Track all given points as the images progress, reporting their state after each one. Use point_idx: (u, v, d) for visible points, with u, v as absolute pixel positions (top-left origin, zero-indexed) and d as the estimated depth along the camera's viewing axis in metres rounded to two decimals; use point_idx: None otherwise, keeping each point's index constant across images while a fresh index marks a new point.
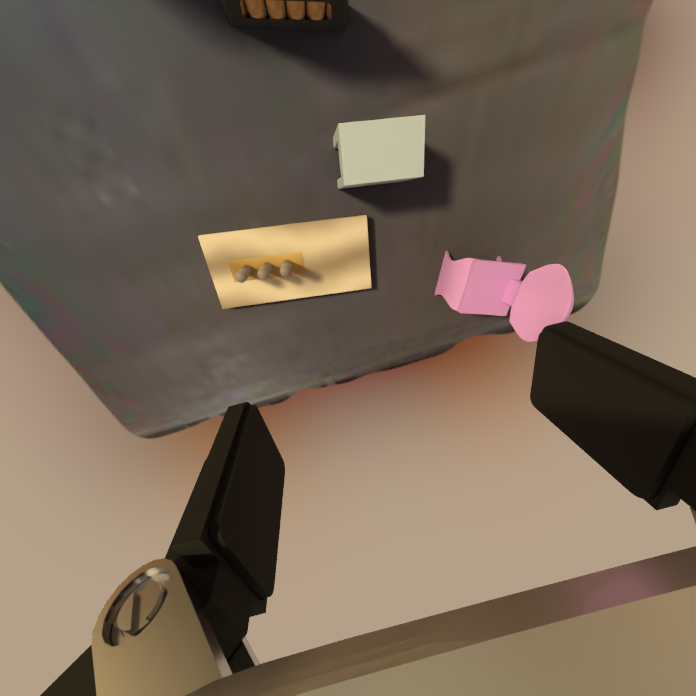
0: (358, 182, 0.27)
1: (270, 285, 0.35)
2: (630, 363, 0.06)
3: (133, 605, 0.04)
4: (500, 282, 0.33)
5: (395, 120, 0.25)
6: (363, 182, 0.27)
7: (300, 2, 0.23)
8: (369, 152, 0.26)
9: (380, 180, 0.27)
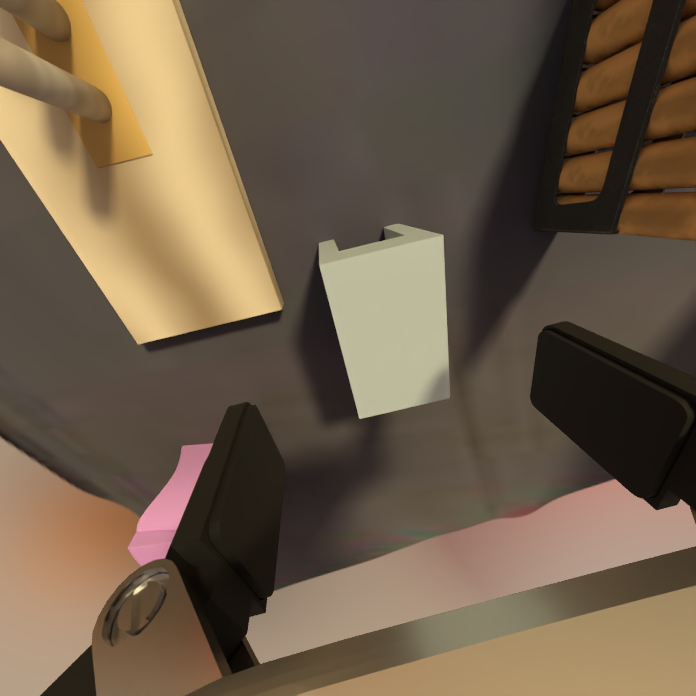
0: (331, 299, 0.11)
1: None
2: (630, 363, 0.06)
3: (133, 605, 0.04)
4: None
5: (444, 353, 0.13)
6: (333, 310, 0.11)
7: (608, 136, 0.12)
8: (390, 314, 0.12)
9: (342, 346, 0.12)
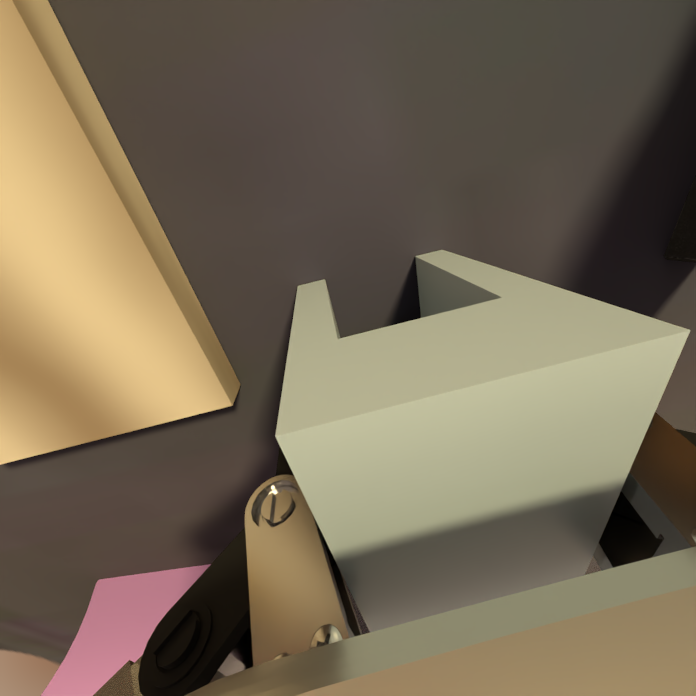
0: (320, 507, 0.04)
1: None
2: None
3: (270, 505, 0.05)
4: None
5: (582, 560, 0.06)
6: (326, 526, 0.04)
7: None
8: (480, 515, 0.04)
9: (350, 579, 0.05)
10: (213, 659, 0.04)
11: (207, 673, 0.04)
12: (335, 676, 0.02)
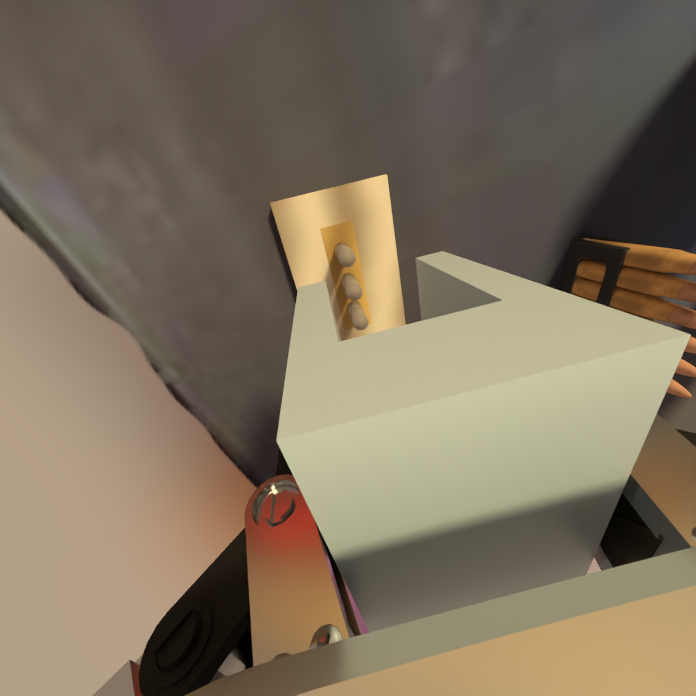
0: (321, 511, 0.04)
1: None
2: None
3: (270, 505, 0.05)
4: None
5: (583, 562, 0.06)
6: (327, 530, 0.04)
7: None
8: (481, 519, 0.04)
9: (351, 582, 0.05)
10: (213, 659, 0.04)
11: (207, 673, 0.04)
12: (335, 676, 0.02)
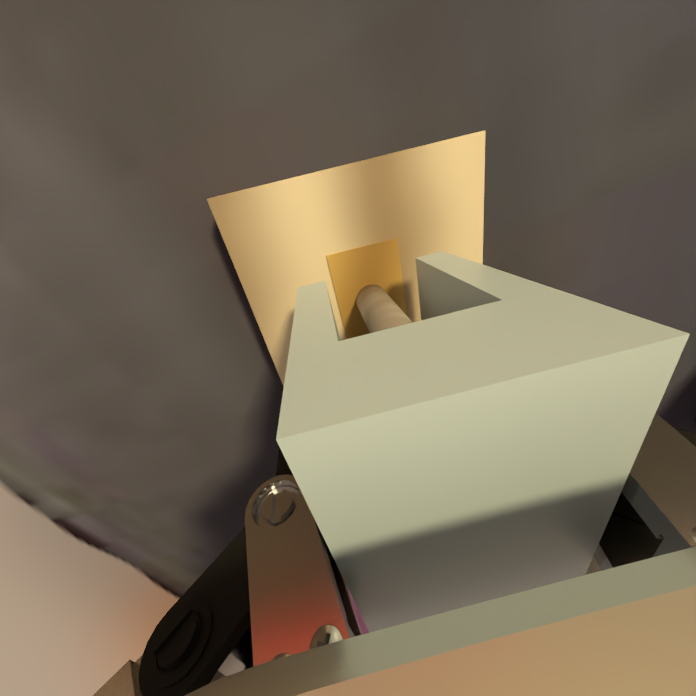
0: (320, 510, 0.04)
1: None
2: None
3: (270, 505, 0.05)
4: None
5: (582, 561, 0.06)
6: (326, 528, 0.04)
7: None
8: (480, 518, 0.04)
9: (351, 581, 0.05)
10: (213, 659, 0.04)
11: (207, 673, 0.04)
12: (335, 676, 0.02)
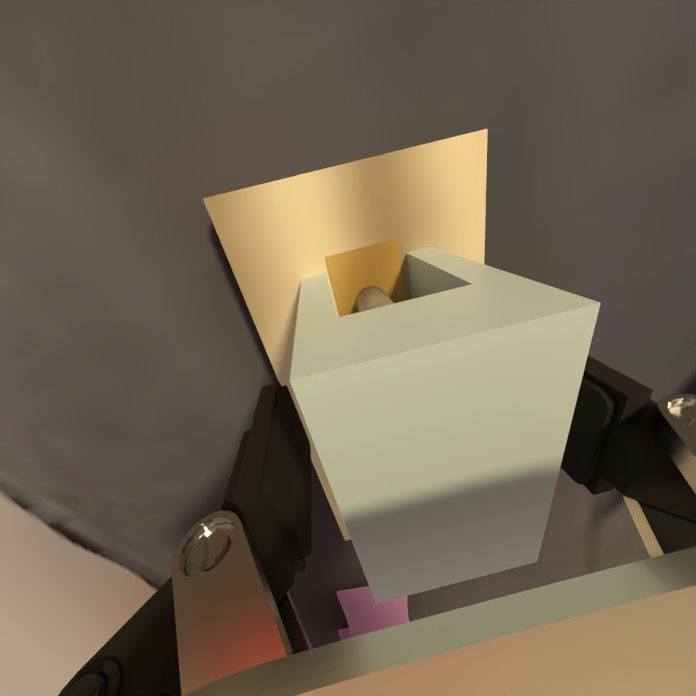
0: (322, 444, 0.05)
1: None
2: None
3: (203, 547, 0.05)
4: None
5: (543, 507, 0.07)
6: (327, 463, 0.05)
7: None
8: (451, 459, 0.05)
9: (346, 516, 0.06)
10: None
11: None
12: (335, 676, 0.02)
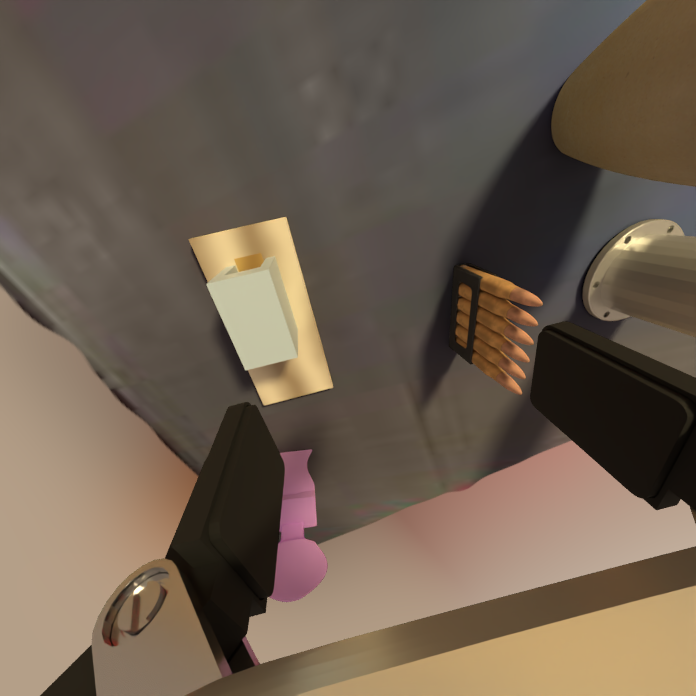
0: (215, 301, 0.21)
1: None
2: (630, 363, 0.06)
3: (133, 605, 0.04)
4: (298, 517, 0.36)
5: (286, 330, 0.23)
6: (217, 307, 0.21)
7: (466, 328, 0.31)
8: (250, 308, 0.22)
9: (226, 326, 0.22)
10: None
11: None
12: (335, 676, 0.02)
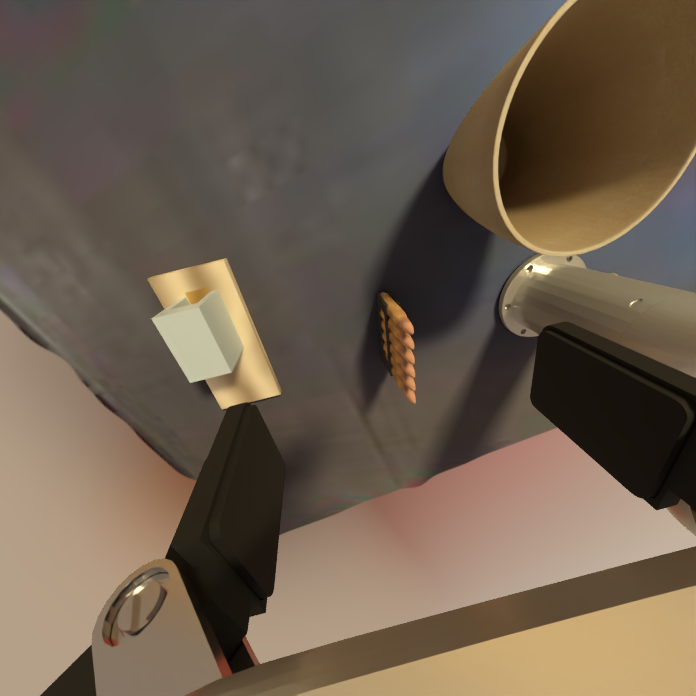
0: (160, 331, 0.28)
1: None
2: (630, 363, 0.06)
3: (133, 605, 0.04)
4: None
5: (219, 352, 0.30)
6: (162, 335, 0.28)
7: (387, 345, 0.37)
8: (188, 336, 0.28)
9: (171, 349, 0.29)
10: None
11: None
12: (335, 676, 0.02)
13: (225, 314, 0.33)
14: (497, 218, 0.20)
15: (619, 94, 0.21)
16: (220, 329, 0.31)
